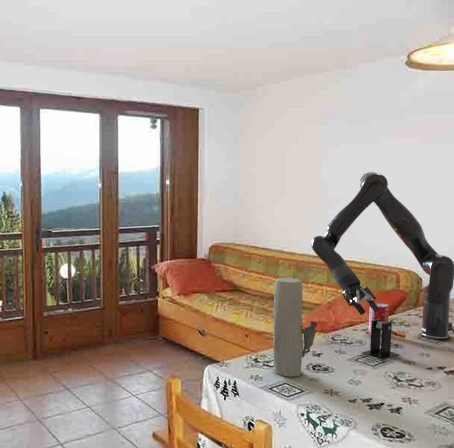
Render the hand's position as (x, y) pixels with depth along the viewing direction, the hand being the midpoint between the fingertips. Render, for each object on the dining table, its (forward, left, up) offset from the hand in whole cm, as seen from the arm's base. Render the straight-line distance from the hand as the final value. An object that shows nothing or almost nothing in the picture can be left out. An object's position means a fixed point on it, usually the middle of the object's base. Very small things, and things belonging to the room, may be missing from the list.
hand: (370, 312), depth 188 cm
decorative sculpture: (+48, +5, -13) cm, 50 cm away
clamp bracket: (+9, +10, -12) cm, 19 cm away
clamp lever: (+5, +10, -5) cm, 12 cm away
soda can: (-13, -5, -13) cm, 19 cm away
